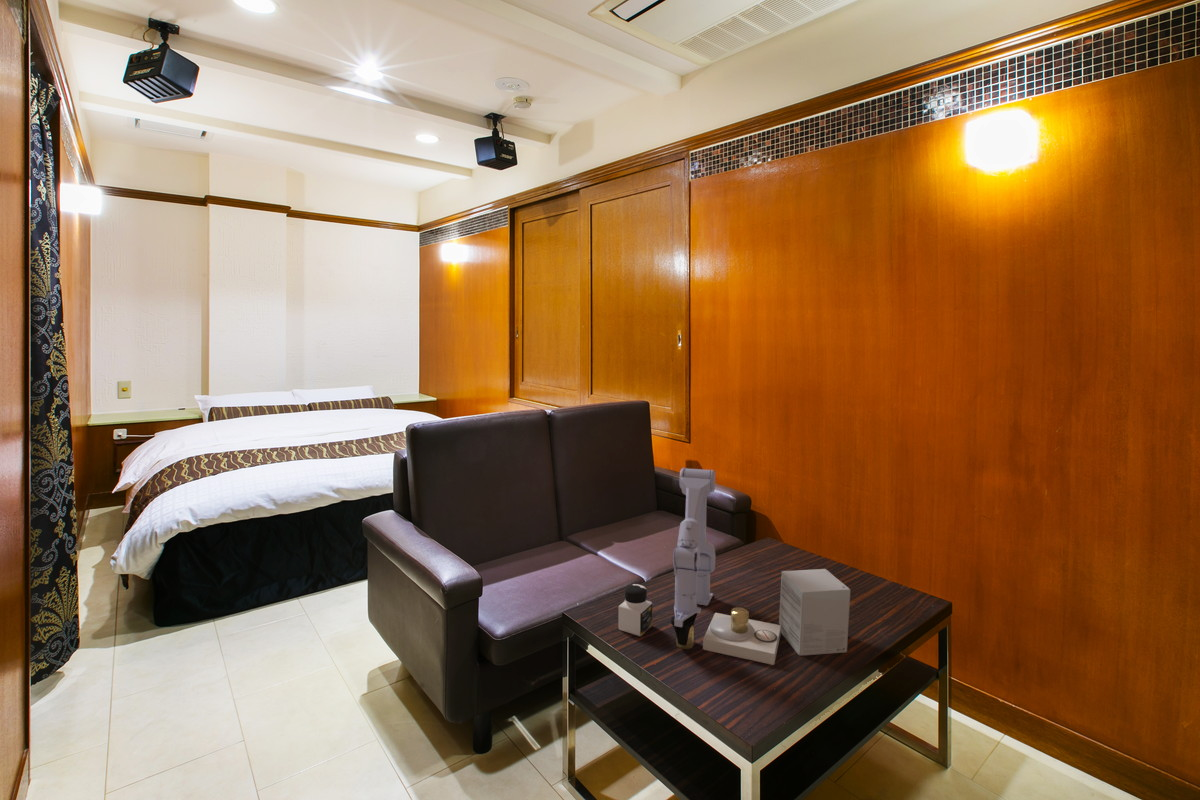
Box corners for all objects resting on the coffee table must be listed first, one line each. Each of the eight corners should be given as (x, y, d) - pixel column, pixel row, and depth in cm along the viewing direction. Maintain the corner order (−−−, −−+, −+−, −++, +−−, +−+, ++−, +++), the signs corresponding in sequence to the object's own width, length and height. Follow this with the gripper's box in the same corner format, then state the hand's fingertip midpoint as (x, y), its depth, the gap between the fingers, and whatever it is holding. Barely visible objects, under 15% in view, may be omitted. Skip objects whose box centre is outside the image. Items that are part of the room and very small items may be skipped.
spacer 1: (674, 646, 154) (674, 629, 154) (678, 638, 159) (679, 621, 158) (690, 650, 153) (691, 632, 152) (695, 642, 157) (695, 624, 156)
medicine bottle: (640, 637, 159) (641, 595, 158) (618, 629, 163) (618, 589, 161) (652, 625, 165) (653, 585, 164) (630, 618, 169) (630, 579, 167)
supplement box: (822, 626, 165) (825, 567, 162) (847, 653, 152) (851, 589, 149) (777, 629, 163) (780, 570, 161) (799, 656, 150) (802, 592, 148)
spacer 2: (729, 631, 155) (729, 613, 155) (732, 623, 160) (733, 606, 159) (746, 635, 154) (746, 617, 153) (749, 627, 158) (750, 609, 157)
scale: (702, 649, 153) (703, 636, 153) (714, 622, 167) (715, 610, 166) (774, 665, 146) (774, 651, 146) (780, 635, 160) (780, 623, 160)
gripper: (694, 606, 145) (693, 657, 147) (707, 582, 159) (705, 629, 161) (666, 600, 148) (666, 650, 150) (681, 578, 161) (680, 624, 163)
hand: (684, 639), depth 155 cm, fingers closed on spacer 1, 4 cm apart
